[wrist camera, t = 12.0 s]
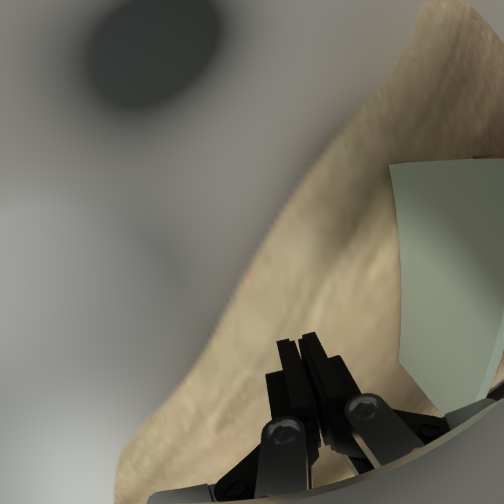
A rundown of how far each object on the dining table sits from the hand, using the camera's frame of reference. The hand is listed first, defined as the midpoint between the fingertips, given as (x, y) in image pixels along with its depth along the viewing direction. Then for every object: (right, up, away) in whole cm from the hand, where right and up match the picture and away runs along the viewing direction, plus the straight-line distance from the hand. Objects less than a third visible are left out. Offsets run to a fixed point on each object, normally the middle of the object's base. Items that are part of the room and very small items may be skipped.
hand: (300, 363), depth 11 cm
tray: (+16, +5, +5) cm, 17 cm away
